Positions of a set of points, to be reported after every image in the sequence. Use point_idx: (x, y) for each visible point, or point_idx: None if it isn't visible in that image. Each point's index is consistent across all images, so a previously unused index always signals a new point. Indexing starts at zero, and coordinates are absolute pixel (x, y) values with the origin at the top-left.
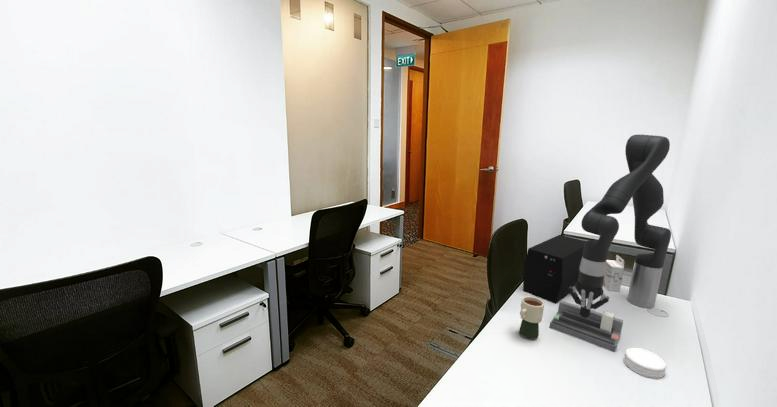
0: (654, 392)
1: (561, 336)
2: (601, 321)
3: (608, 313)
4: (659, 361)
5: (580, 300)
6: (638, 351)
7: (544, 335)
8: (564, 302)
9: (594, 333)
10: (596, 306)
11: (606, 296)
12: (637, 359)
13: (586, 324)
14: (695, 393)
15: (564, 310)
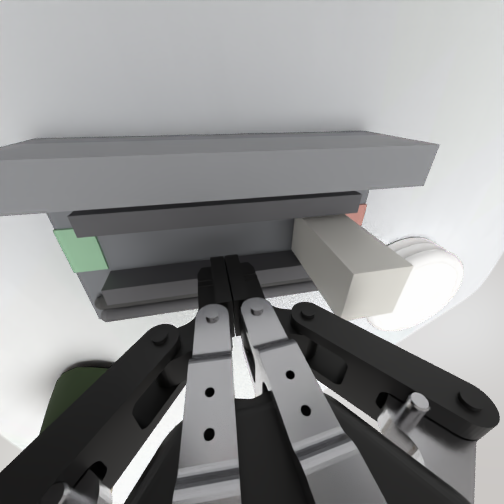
0: (388, 337)
1: (173, 314)
2: (317, 286)
3: (376, 285)
4: (448, 287)
5: (185, 363)
6: (407, 282)
7: (130, 347)
8: (3, 183)
9: (278, 284)
10: (319, 364)
11: (475, 451)
12: (391, 319)
13: None
14: (467, 287)
15: (77, 220)
